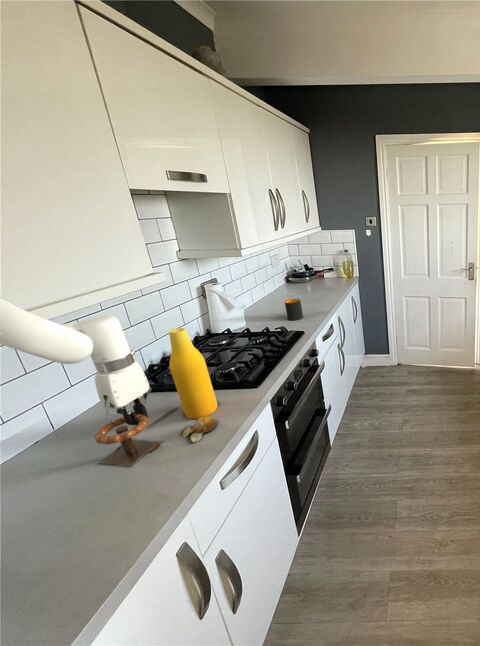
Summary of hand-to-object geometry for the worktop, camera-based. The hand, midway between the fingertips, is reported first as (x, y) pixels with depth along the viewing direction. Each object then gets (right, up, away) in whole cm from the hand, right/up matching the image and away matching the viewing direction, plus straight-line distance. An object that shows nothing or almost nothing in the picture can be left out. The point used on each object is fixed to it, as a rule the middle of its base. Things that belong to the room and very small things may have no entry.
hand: (138, 420), depth 97 cm
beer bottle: (+6, -2, +18) cm, 19 cm away
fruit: (+12, -6, +7) cm, 15 cm away
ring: (-1, -1, -4) cm, 4 cm away
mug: (+4, +31, +103) cm, 107 cm away
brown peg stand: (0, -9, -1) cm, 9 cm away
